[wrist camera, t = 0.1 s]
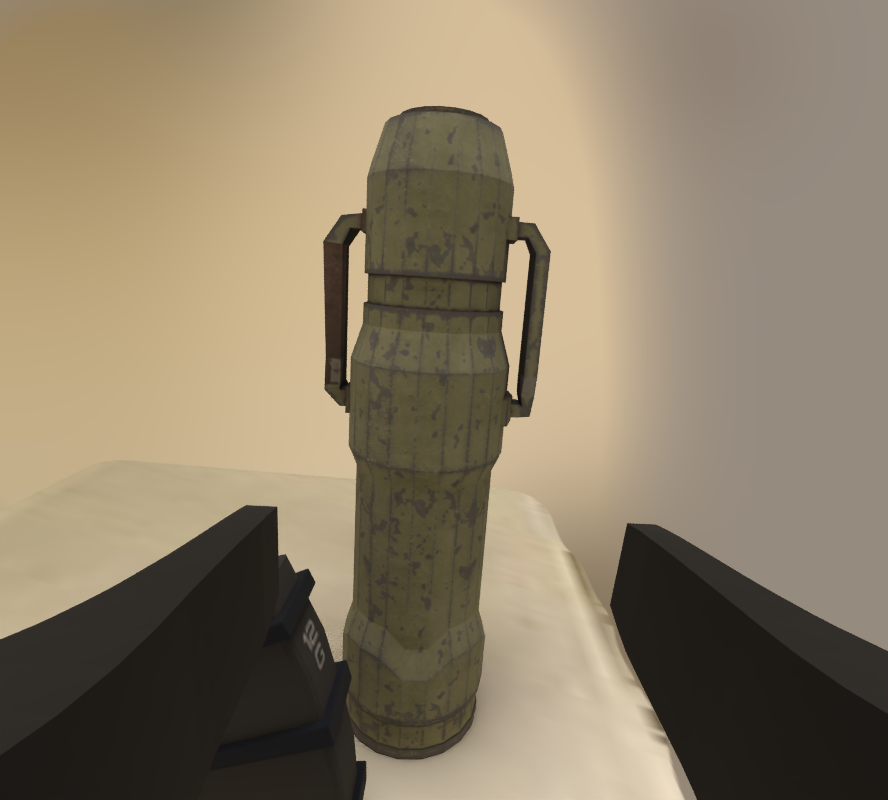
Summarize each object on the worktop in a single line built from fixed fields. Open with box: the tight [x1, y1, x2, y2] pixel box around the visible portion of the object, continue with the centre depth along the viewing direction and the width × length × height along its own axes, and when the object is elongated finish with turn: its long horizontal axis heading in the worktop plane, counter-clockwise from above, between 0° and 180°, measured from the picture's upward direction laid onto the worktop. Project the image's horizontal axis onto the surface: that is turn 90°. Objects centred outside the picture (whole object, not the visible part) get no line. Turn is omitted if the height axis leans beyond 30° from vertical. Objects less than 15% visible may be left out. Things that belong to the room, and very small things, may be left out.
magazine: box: [198, 554, 366, 800], centre depth 23 cm, size 4×13×15 cm, turn 89°
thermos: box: [323, 106, 551, 759], centre depth 30 cm, size 9×12×35 cm
